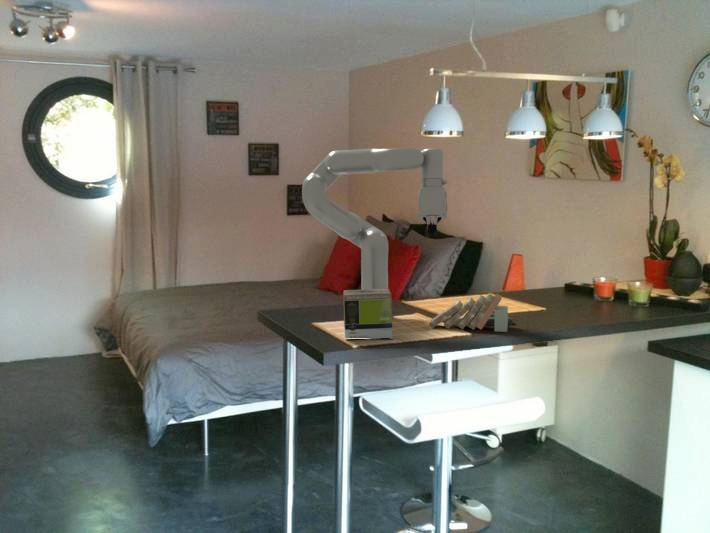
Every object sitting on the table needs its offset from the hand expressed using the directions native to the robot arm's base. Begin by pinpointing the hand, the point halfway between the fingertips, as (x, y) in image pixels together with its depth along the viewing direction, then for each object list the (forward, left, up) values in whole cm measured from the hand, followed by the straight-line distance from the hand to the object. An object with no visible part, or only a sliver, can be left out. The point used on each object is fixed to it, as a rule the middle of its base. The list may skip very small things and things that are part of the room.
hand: (432, 235), depth 256 cm
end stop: (+25, -19, -29) cm, 43 cm away
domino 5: (+18, -19, -28) cm, 39 cm away
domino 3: (+12, -19, -28) cm, 36 cm away
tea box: (-16, -37, -29) cm, 50 cm away
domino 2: (+7, -19, -28) cm, 35 cm away
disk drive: (+22, -6, -30) cm, 37 cm away
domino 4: (+15, -19, -29) cm, 38 cm away
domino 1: (+2, -19, -28) cm, 34 cm away
